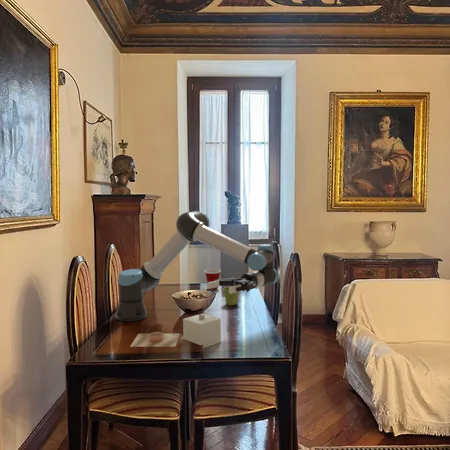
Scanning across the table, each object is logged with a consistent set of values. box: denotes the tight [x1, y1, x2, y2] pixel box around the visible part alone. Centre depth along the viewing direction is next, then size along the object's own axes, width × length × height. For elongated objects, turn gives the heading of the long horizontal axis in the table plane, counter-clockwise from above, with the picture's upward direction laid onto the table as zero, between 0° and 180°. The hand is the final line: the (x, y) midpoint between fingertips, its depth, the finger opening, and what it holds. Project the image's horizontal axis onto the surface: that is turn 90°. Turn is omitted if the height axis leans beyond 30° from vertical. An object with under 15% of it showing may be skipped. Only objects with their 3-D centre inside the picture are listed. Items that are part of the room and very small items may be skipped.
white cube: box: [182, 313, 222, 349], centre depth 183 cm, size 11×11×12 cm
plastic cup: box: [203, 268, 222, 290], centre depth 284 cm, size 11×11×12 cm
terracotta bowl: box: [148, 331, 164, 342], centre depth 182 cm, size 6×6×3 cm
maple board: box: [129, 333, 181, 348], centre depth 183 cm, size 18×16×2 cm
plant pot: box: [222, 286, 239, 306], centre depth 245 cm, size 9×9×9 cm
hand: (218, 288), depth 188 cm, fingers open, 13 cm apart
